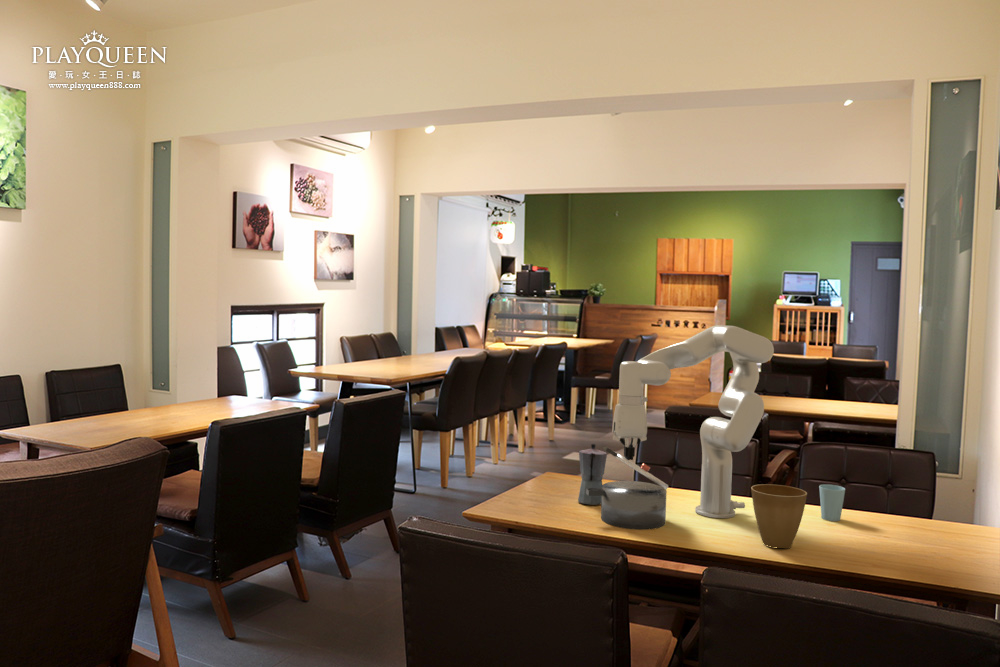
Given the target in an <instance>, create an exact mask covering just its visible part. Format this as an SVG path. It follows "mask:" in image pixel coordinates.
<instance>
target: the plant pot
mask: <svg viewBox="0 0 1000 667" xmlns="http://www.w3.org/2000/svg"><path fill="white" fill-rule="evenodd" d="M750 489H751V490H750V491H751V497H752V498H751V499H752V505H753V506H752V507H753V511H754V516H755V517H754V518H755V520H756V521H755V522H756V525H757V528H758V532H759V535H760V538H761V541H762V543H764V544H765V545H768V546H771V547H777V548H788V549H790V548H791V547H792V545H793V544H794V541H795V538H796V536H797V533H798V532H799V527H800V525H801V522H802V518H803V515H804V512H805V511H804V510H805V506H806V502H807V496H808V492H807V491H806V490H803V489H801V488H798V487H793V486H788V485H782V484H773V483H771V484H769V483H766V484H763V483H761V484H754V485H752V486H751V487H750ZM764 544H763V545H764ZM765 545H764V546H765ZM771 547H770V548H771ZM789 547H790V548H789Z"/></svg>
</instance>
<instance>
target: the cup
mask: <svg viewBox="0 0 1000 667" xmlns="http://www.w3.org/2000/svg"><path fill="white" fill-rule="evenodd" d="M818 488H819V499H820V503H819V504H820V513H821V514H820V515H821V519H822V520H825V521H828V520H829V522H840V521H841V518H842V510H843V507H844V506H843V505H844V499H845V493H846V488H845V487H843V486H841V485H840V486H839V485H835V484H819V486H818Z"/></svg>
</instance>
